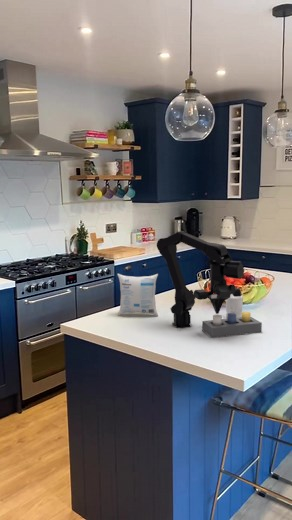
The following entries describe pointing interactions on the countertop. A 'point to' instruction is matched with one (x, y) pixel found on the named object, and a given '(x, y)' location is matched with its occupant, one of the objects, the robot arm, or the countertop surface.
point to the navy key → (231, 318)
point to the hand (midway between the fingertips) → (217, 313)
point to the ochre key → (246, 317)
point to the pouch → (137, 294)
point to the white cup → (234, 305)
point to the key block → (231, 327)
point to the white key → (217, 320)
